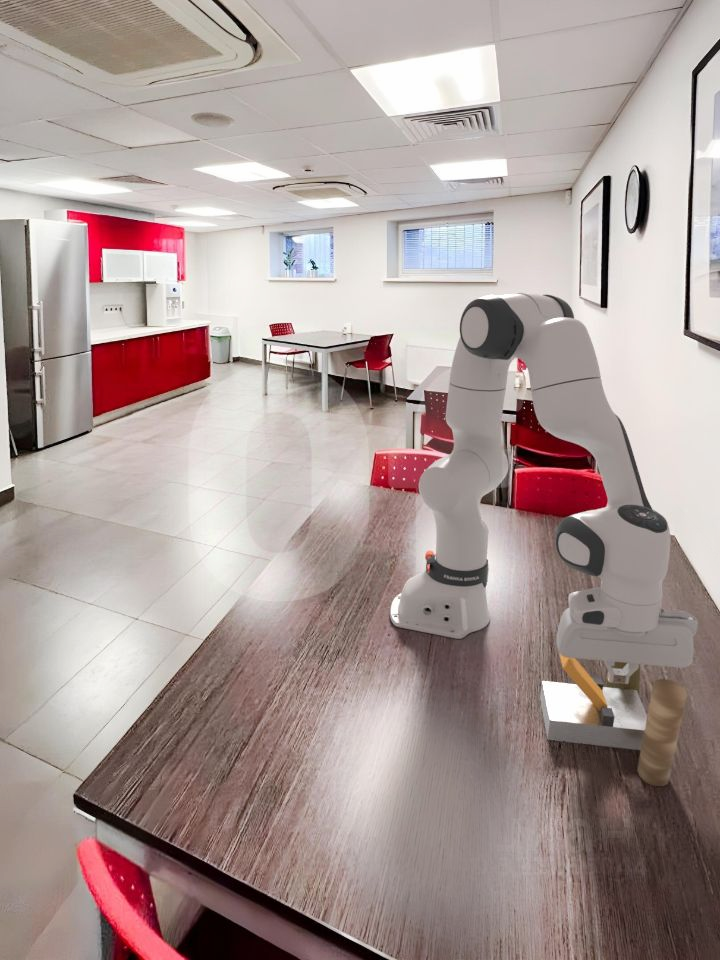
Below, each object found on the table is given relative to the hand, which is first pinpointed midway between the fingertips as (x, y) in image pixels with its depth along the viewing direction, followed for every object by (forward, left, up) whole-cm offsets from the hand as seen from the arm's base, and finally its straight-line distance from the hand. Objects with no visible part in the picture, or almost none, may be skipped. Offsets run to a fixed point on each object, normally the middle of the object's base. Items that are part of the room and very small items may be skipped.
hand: (617, 680), depth 97 cm
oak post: (+4, -10, -10) cm, 14 cm away
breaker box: (-3, 0, -9) cm, 10 cm away
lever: (-2, 0, -5) cm, 5 cm away
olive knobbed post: (+4, +9, -10) cm, 14 cm away
